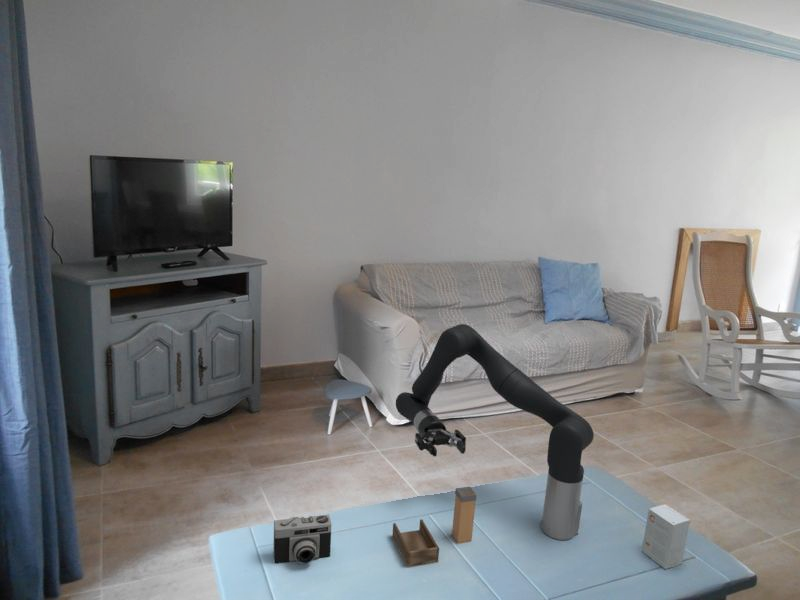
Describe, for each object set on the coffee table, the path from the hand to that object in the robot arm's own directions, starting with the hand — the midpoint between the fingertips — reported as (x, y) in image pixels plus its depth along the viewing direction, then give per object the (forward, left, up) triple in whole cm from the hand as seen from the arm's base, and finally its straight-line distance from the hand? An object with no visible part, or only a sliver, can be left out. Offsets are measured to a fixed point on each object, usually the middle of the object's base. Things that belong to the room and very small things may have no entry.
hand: (449, 452), depth 169 cm
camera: (+43, +11, -19) cm, 48 cm away
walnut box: (+14, +14, -19) cm, 27 cm away
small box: (-49, +32, -19) cm, 62 cm away
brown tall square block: (0, +12, -19) cm, 23 cm away
